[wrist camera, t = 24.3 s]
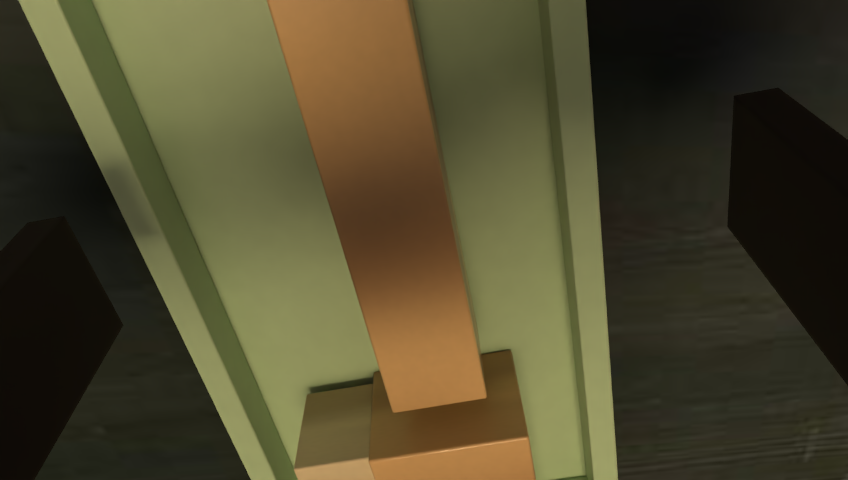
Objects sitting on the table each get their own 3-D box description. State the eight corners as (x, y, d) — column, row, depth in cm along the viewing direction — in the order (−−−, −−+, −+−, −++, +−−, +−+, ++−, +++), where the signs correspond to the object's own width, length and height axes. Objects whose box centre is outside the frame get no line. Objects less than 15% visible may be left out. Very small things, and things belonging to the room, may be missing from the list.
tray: (-2, -154, 14) (-56, -150, 13) (546, -283, 14) (566, -298, 12) (300, 519, 26) (293, 568, 24) (606, 474, 25) (621, 522, 23)
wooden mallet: (139, -48, 15) (71, -15, 12) (433, -114, 15) (440, -97, 12) (352, 502, 25) (344, 598, 22) (532, 475, 24) (551, 570, 21)
